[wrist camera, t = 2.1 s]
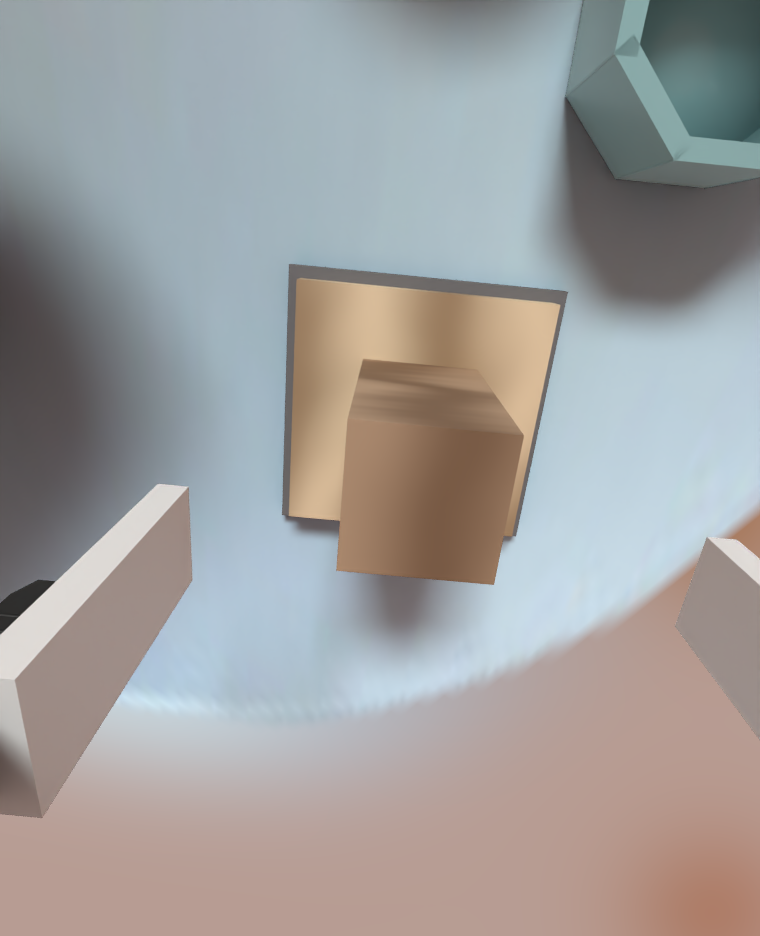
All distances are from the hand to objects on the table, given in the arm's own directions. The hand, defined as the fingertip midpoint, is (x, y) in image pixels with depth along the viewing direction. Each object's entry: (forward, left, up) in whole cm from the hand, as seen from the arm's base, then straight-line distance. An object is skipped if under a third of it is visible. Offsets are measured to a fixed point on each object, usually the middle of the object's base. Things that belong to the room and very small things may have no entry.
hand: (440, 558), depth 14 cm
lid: (0, 0, -13) cm, 13 cm away
